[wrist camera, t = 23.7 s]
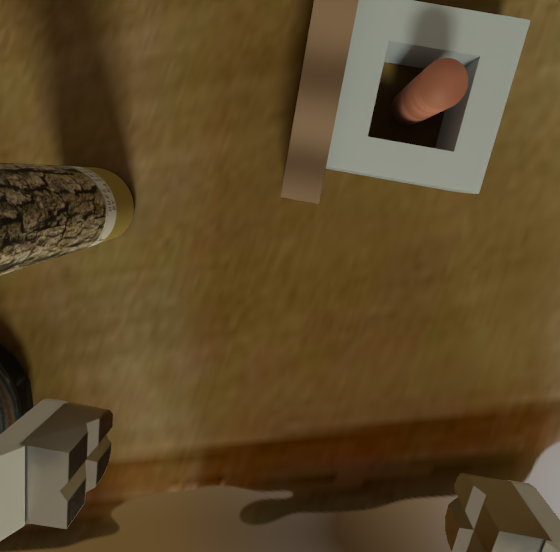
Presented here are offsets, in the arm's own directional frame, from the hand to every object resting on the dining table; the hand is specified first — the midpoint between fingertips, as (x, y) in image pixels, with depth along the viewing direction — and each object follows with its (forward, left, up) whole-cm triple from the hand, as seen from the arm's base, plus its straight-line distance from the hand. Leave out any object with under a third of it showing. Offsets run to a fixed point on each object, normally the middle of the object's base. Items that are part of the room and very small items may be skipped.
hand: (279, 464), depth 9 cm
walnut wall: (-14, -1, -29) cm, 32 cm away
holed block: (-14, +7, -29) cm, 33 cm away
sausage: (-14, +7, -29) cm, 33 cm away
